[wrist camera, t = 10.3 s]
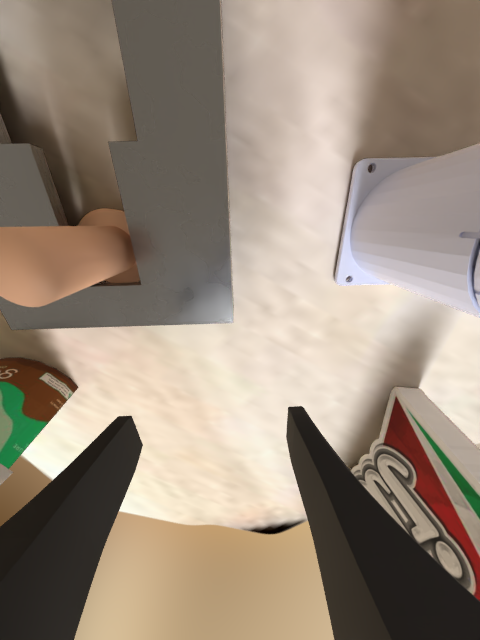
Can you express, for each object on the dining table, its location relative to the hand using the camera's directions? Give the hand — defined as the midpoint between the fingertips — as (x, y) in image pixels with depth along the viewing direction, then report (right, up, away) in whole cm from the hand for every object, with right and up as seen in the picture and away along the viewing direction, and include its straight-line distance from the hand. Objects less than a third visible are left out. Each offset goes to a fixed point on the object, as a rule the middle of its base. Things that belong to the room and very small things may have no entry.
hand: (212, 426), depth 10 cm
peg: (-7, +10, +5) cm, 14 cm away
